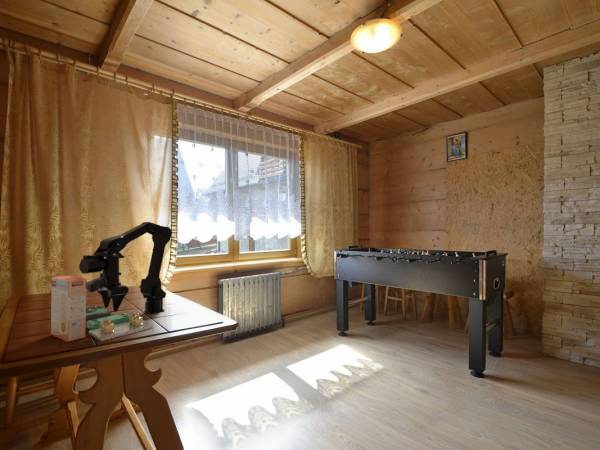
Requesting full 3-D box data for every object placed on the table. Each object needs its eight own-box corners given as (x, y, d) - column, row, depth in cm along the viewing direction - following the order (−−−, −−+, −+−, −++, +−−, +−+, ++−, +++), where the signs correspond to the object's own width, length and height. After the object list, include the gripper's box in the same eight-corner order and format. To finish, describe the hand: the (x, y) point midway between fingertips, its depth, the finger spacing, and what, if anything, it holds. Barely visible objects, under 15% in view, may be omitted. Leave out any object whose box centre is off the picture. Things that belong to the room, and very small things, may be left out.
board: (125, 318, 129) (125, 313, 129) (132, 321, 125) (132, 315, 125) (87, 327, 118) (87, 321, 118) (93, 331, 114) (93, 324, 114)
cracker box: (87, 337, 107) (87, 278, 107) (66, 343, 102) (66, 280, 102) (70, 330, 115) (70, 274, 115) (50, 335, 110) (50, 276, 110)
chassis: (139, 321, 125) (139, 308, 125) (153, 327, 118) (153, 313, 118) (88, 333, 111) (88, 318, 111) (100, 341, 104) (100, 325, 104)
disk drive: (71, 316, 135) (83, 322, 126) (71, 310, 135) (83, 315, 126) (98, 311, 143) (111, 316, 134) (98, 305, 143) (111, 310, 134)
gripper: (79, 270, 121) (79, 309, 121) (96, 275, 109) (96, 318, 109) (110, 267, 130) (110, 304, 130) (129, 271, 118) (129, 311, 118)
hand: (110, 309), depth 121 cm, fingers open, 9 cm apart
